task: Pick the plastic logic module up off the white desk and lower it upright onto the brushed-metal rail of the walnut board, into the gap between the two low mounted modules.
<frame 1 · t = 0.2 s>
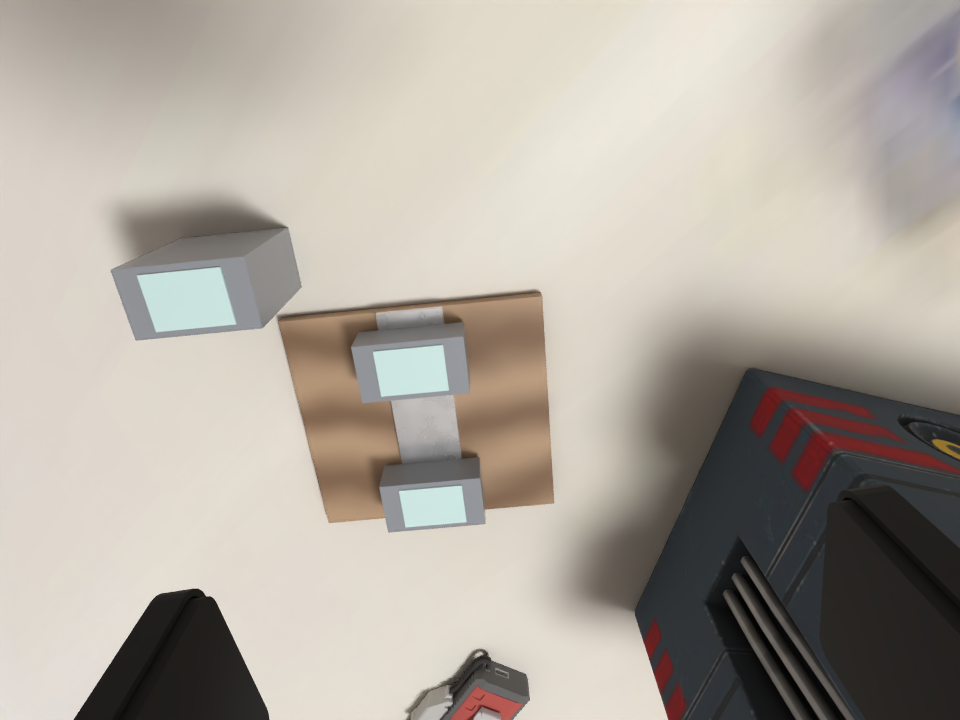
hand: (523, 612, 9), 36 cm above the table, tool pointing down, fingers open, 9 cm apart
logic module: (242, 262, 44), on the table
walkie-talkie: (455, 708, 64), on the table
power unit: (823, 527, 54), on the table
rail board: (427, 413, 49), on the table
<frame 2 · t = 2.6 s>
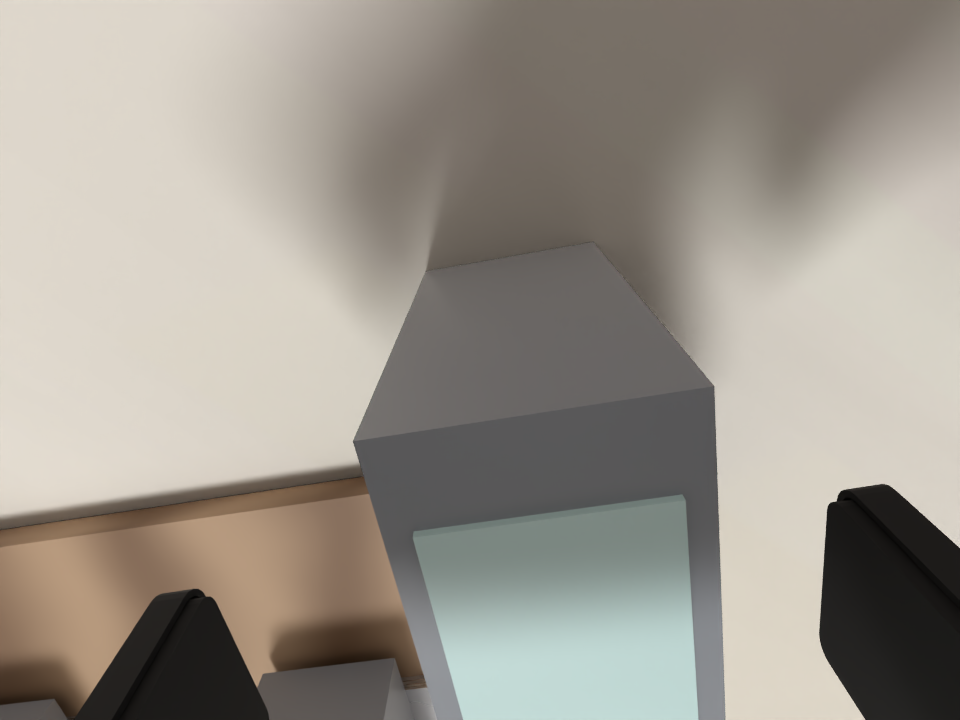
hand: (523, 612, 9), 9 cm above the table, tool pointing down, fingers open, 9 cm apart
logic module: (530, 390, 17), on the table
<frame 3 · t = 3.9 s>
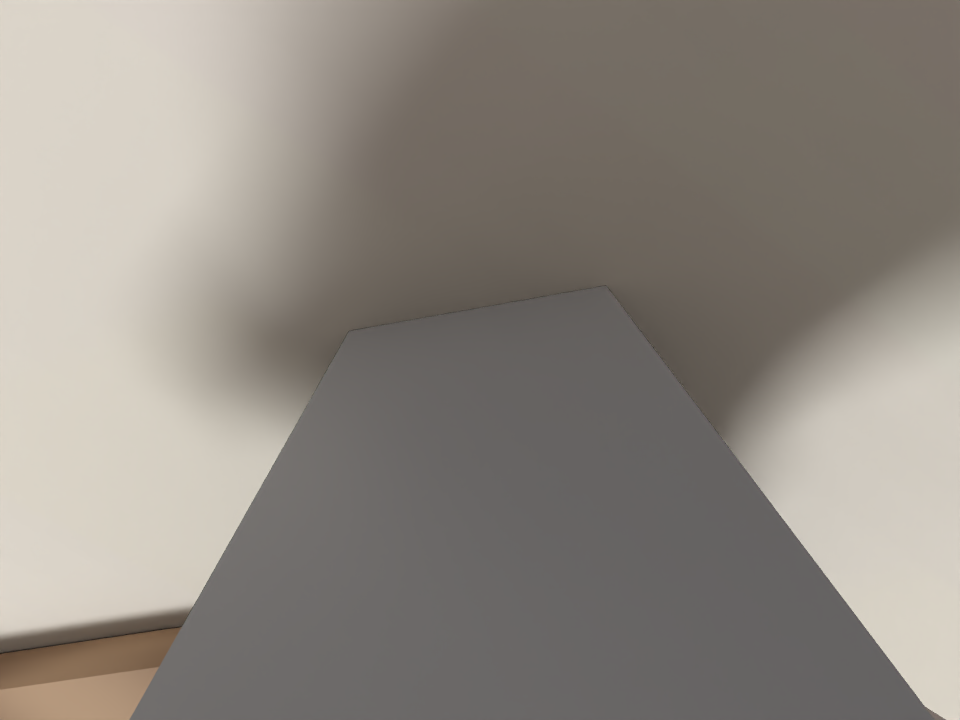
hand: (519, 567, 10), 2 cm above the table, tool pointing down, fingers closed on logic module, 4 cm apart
logic module: (512, 497, 12), on the table, touching gripper
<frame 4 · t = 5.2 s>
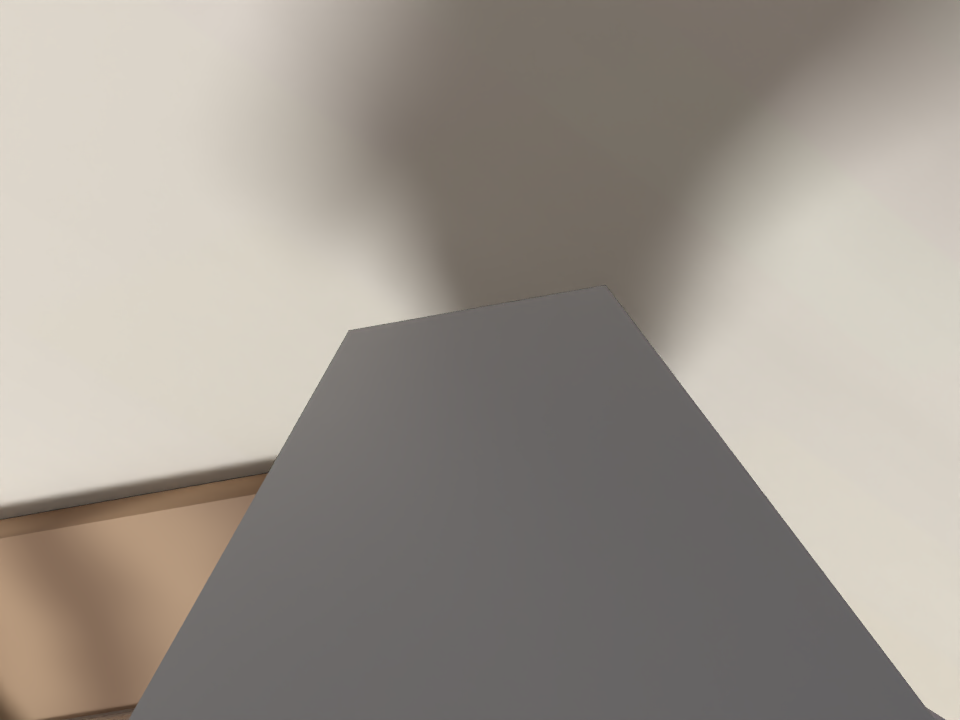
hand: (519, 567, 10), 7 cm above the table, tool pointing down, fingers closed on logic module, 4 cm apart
logic module: (512, 496, 12), point 5 cm above the table, touching gripper
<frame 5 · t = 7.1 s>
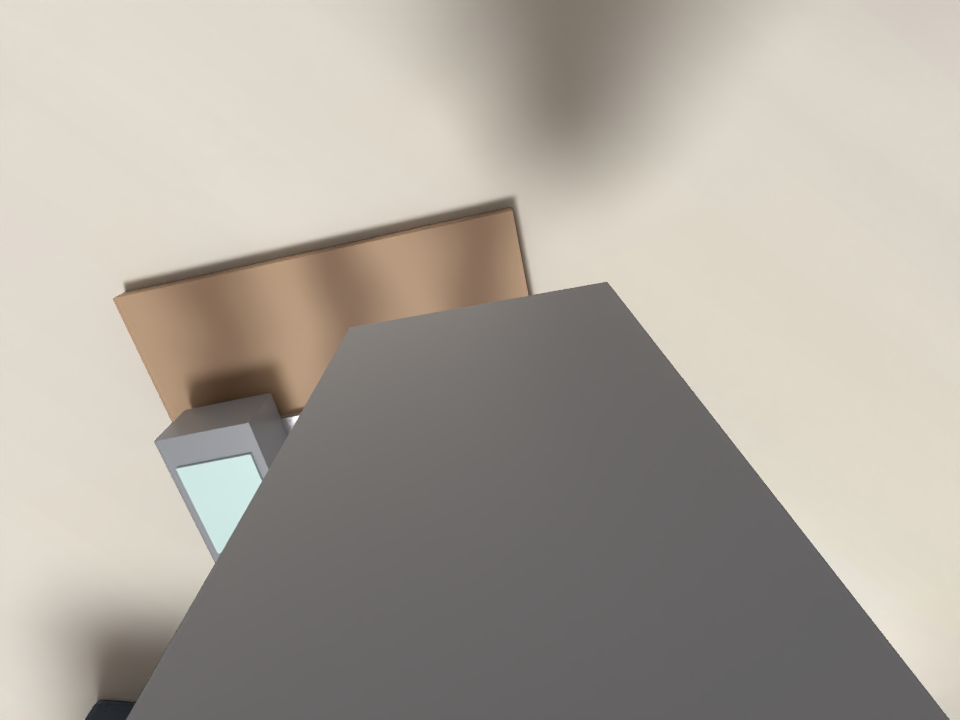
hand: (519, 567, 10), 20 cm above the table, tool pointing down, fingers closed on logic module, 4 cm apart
logic module: (513, 494, 12), point 18 cm above the table, touching gripper
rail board: (372, 432, 31), on the table
when the fingers open (5 cm above the table, at t = 10.2 s): logic module drops 2 cm, resting on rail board.
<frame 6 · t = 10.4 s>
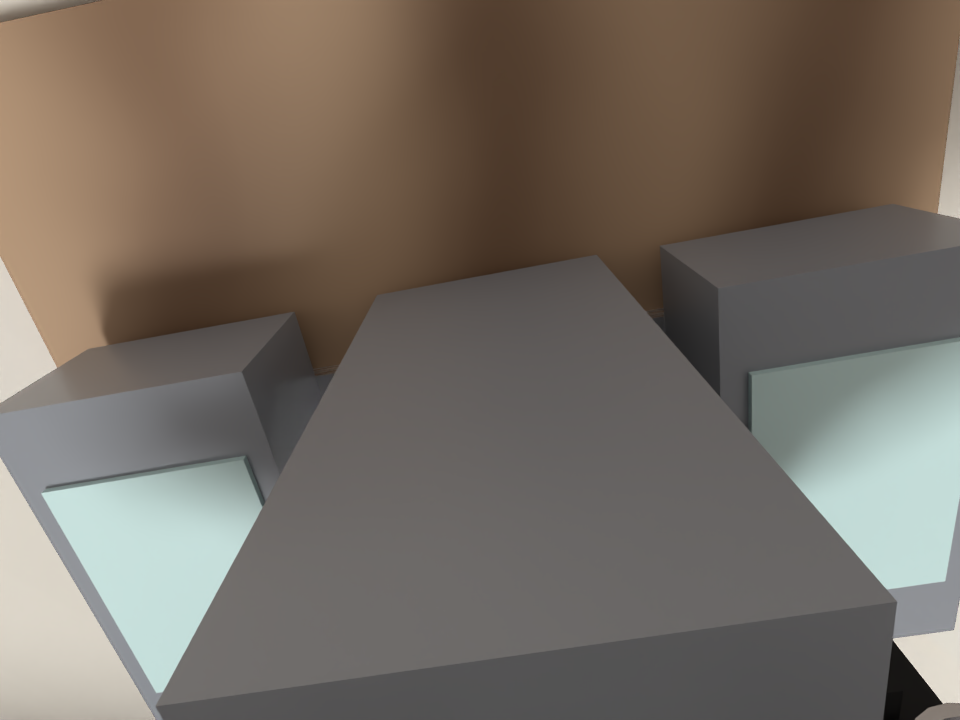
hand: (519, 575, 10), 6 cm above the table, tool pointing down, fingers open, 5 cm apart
logic module: (517, 443, 13), point 2 cm above the table, touching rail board
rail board: (502, 415, 15), on the table
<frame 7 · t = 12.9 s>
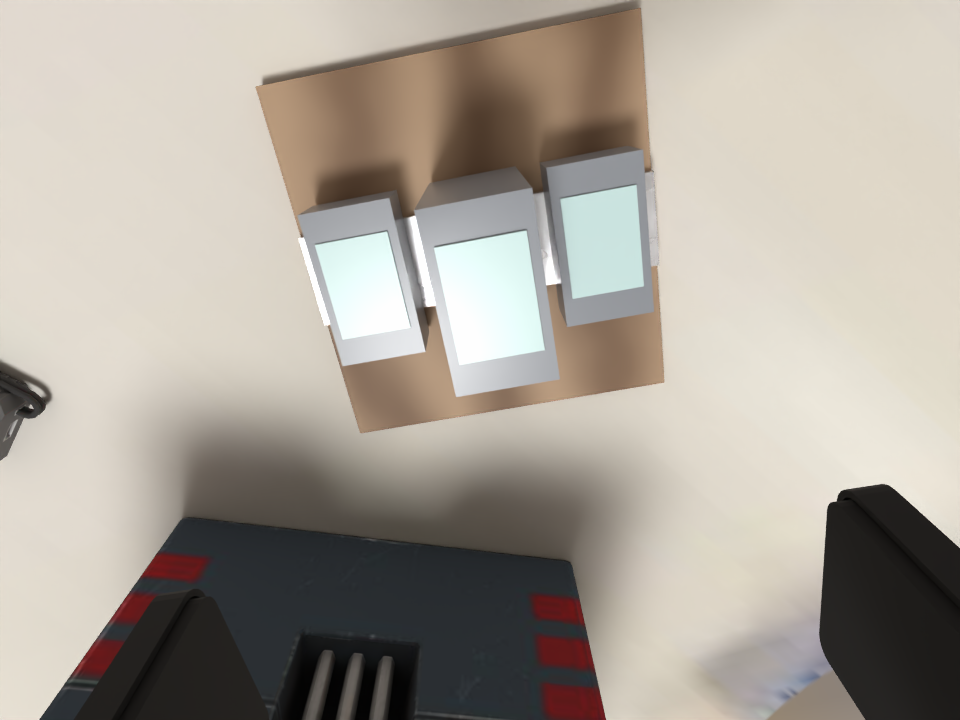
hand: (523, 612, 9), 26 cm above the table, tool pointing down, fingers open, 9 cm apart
logic module: (486, 250, 32), point 1 cm above the table, touching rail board
power unit: (366, 673, 47), on the table
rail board: (480, 246, 33), on the table
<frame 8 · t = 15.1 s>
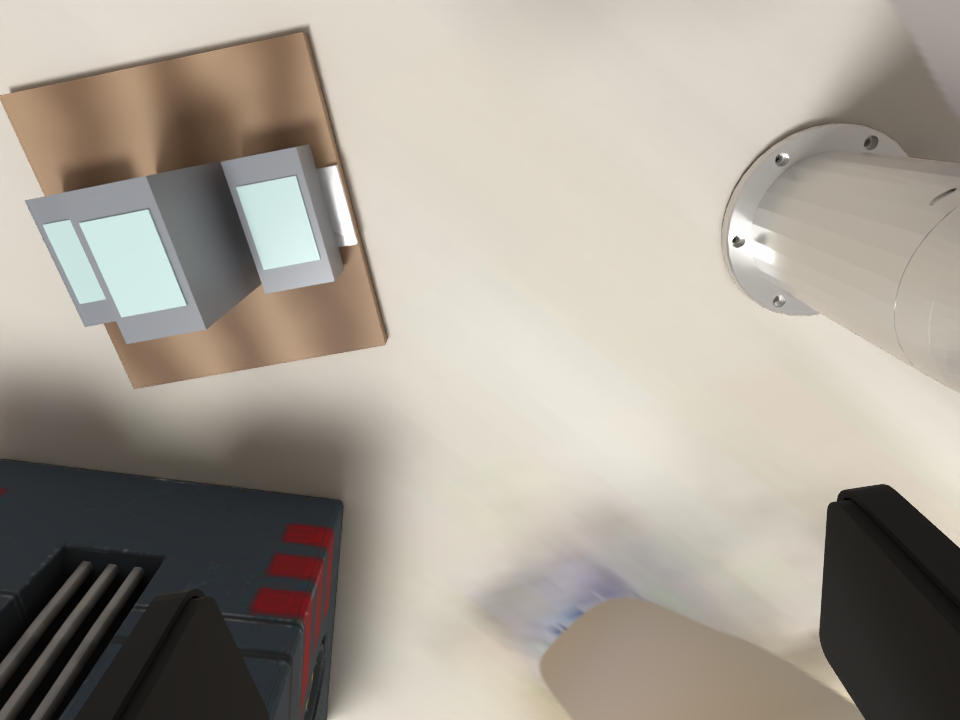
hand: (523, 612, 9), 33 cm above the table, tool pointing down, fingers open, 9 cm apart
logic module: (208, 231, 38), point 1 cm above the table, touching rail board
power unit: (182, 604, 53), on the table
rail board: (214, 228, 40), on the table
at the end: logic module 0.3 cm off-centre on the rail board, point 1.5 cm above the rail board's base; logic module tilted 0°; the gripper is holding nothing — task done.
